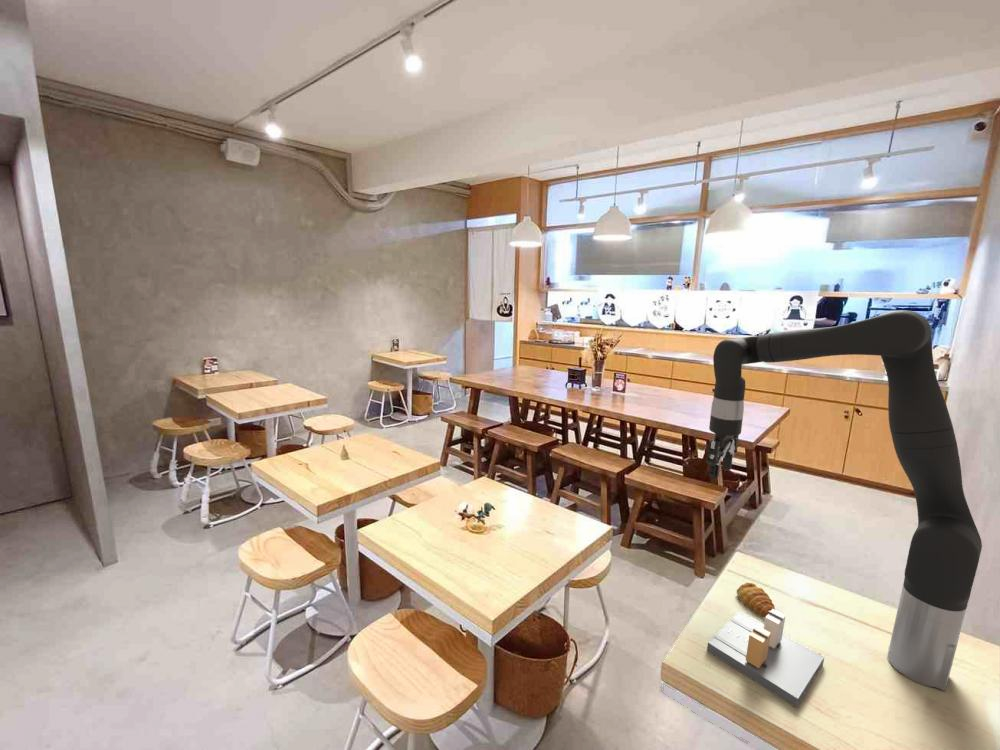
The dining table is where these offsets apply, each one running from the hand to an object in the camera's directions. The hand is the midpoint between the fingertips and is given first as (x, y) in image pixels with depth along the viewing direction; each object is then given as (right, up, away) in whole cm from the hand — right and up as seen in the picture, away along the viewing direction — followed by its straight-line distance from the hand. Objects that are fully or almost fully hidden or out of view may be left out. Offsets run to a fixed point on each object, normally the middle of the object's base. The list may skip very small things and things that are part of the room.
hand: (719, 473), depth 119 cm
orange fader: (-6, -32, -28) cm, 43 cm away
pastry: (+5, -31, -8) cm, 33 cm away
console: (-3, -34, -25) cm, 42 cm away
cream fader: (0, -31, -23) cm, 39 cm away
